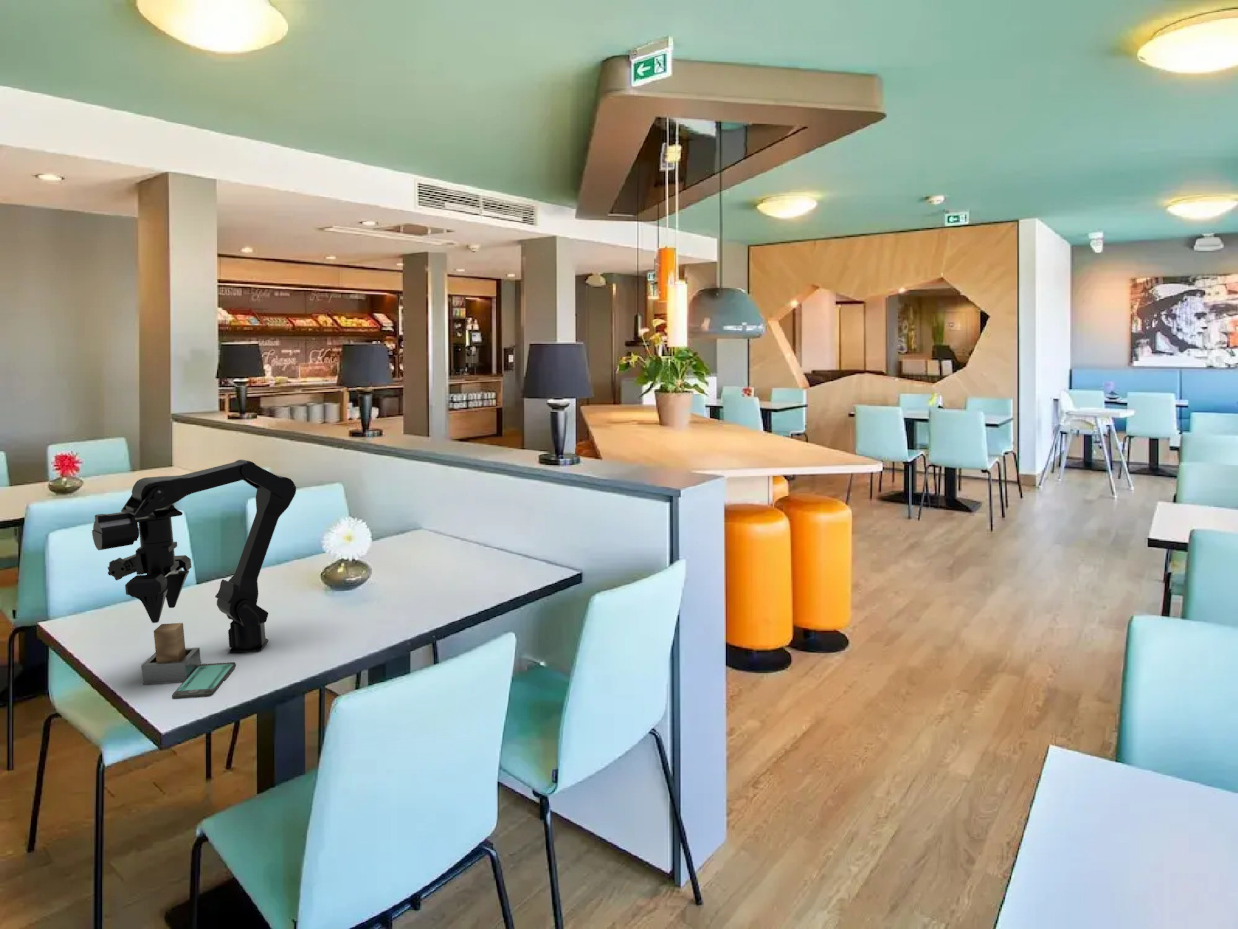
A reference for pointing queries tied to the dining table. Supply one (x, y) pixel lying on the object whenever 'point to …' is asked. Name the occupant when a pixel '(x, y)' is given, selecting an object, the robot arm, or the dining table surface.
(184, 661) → the gray open box
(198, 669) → the smartphone
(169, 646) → the rail post
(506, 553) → the dining table surface
